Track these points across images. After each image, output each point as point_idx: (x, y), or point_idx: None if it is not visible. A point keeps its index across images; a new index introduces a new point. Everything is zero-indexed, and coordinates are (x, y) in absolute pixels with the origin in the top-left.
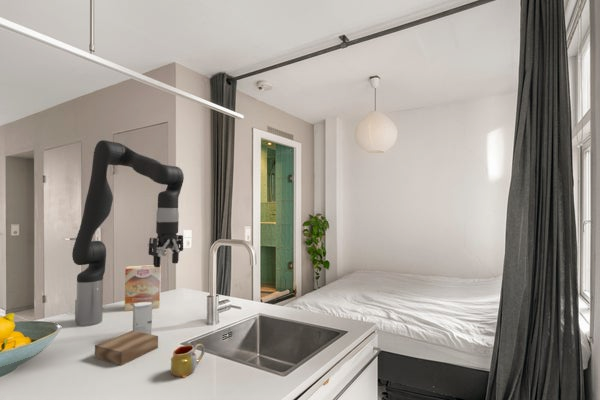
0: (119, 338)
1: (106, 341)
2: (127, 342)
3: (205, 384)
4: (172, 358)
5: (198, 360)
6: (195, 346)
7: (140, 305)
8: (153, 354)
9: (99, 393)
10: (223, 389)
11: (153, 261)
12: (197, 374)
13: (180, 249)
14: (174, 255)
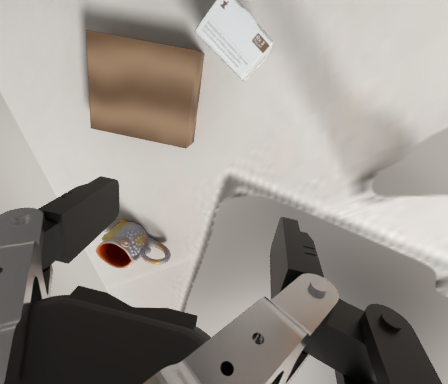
0: (140, 59)
1: (113, 40)
2: (130, 102)
3: (118, 272)
4: (102, 239)
5: (158, 248)
6: (144, 259)
7: (209, 44)
8: (165, 152)
9: (37, 157)
10: (118, 293)
11: (62, 195)
12: None
13: (338, 364)
14: (277, 277)
